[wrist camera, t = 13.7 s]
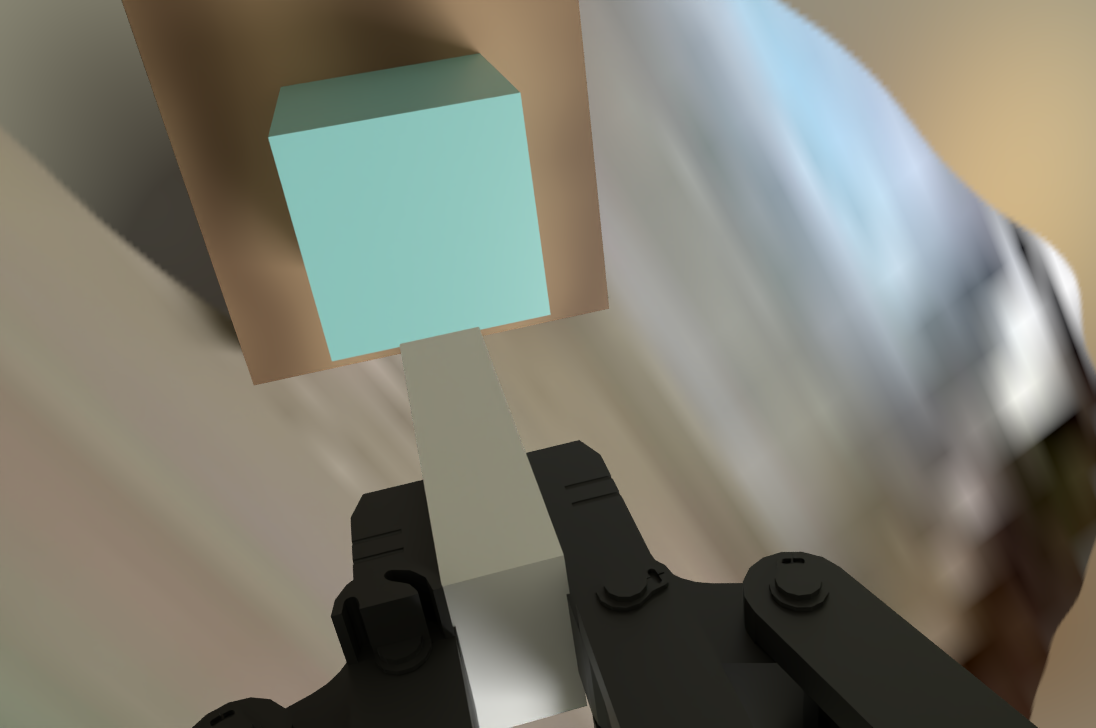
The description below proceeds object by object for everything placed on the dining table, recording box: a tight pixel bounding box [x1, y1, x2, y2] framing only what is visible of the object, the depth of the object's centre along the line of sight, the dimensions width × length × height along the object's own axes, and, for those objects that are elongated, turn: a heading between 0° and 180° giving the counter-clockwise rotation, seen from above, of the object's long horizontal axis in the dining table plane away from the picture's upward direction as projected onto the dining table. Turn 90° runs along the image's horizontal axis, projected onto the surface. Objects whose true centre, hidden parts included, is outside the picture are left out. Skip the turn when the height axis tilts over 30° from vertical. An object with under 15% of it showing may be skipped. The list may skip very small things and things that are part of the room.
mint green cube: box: [268, 53, 551, 361], centre depth 27 cm, size 7×7×7 cm
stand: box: [122, 0, 609, 385], centre depth 29 cm, size 14×14×8 cm
